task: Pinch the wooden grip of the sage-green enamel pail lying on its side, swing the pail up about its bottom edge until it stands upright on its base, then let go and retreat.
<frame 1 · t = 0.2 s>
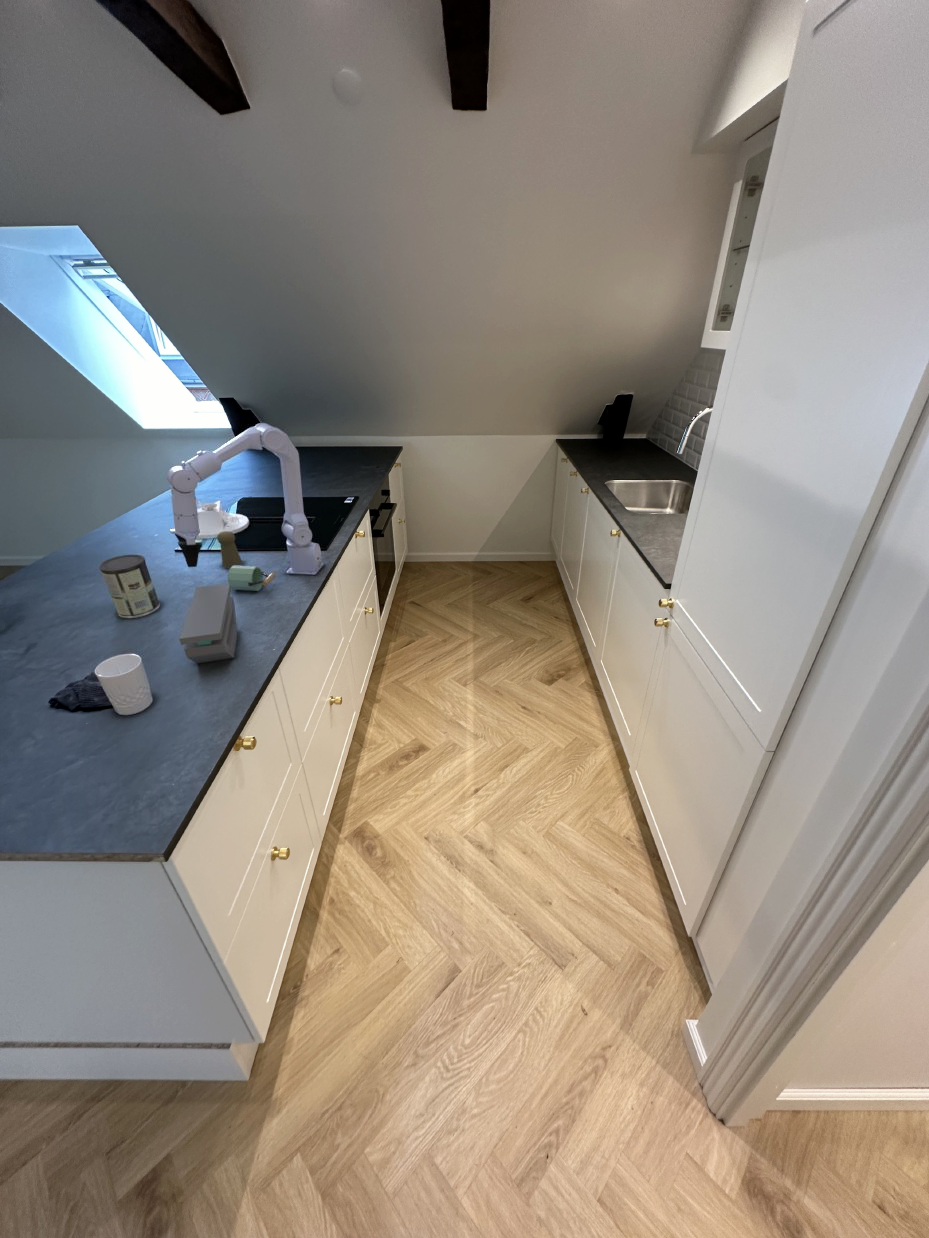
hand: (190, 561, 141), 11 cm above the countertop, tool pointing down, fingers open, 7 cm apart
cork: (232, 565, 165), on the countertop
coffee can: (139, 609, 140), on the countertop
white cup: (134, 705, 105), on the countertop
bucket: (252, 578, 149), point 3 cm above the countertop, hinge at -90.0°
dish: (214, 527, 196), on the countertop
grey box: (218, 648, 123), on the countertop
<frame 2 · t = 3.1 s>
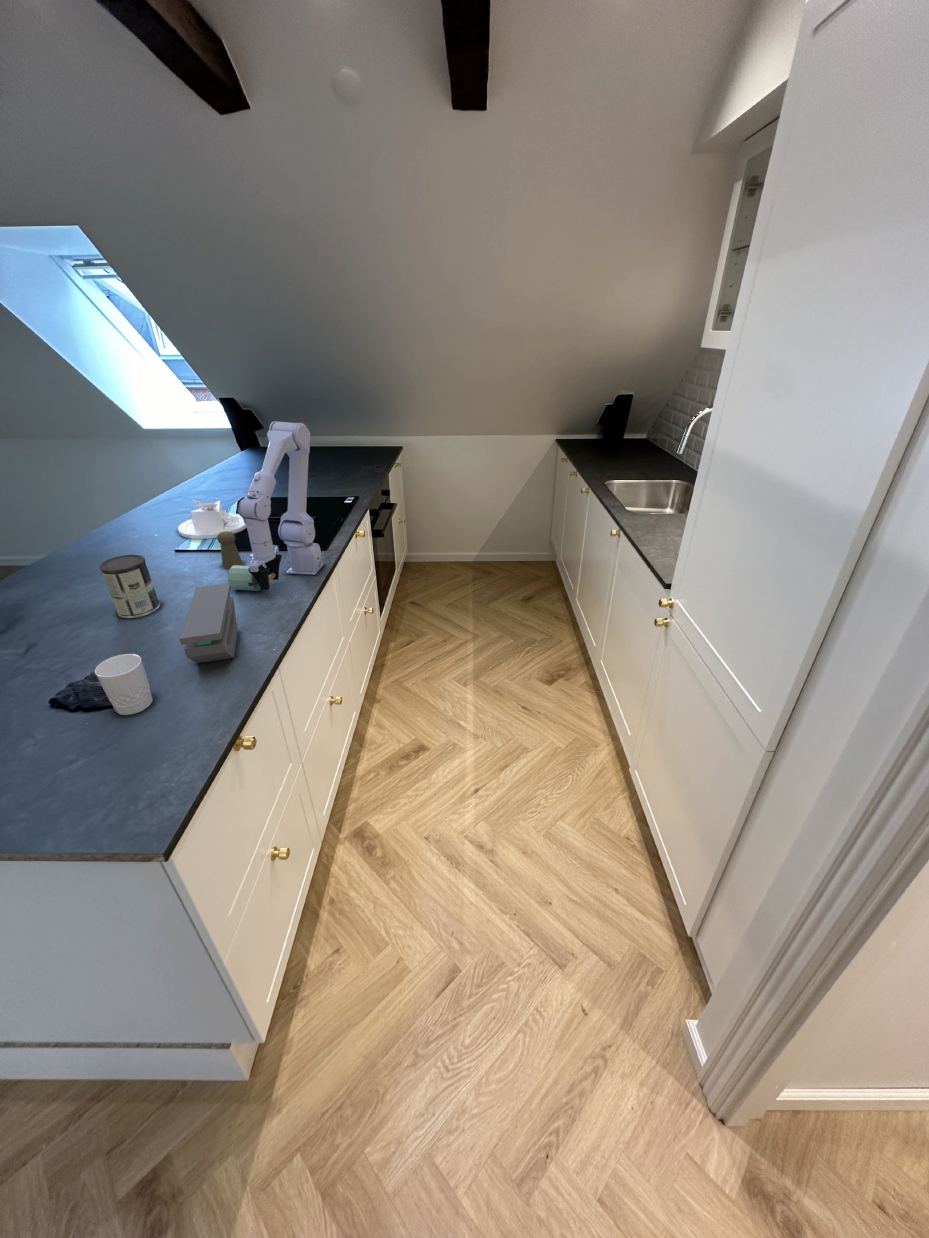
hand: (270, 584, 149), 2 cm above the countertop, tool pointing down, fingers closed on bucket, 6 cm apart
bucket: (252, 578, 149), point 3 cm above the countertop, hinge at -90.0°, touching gripper
everything else where it was.
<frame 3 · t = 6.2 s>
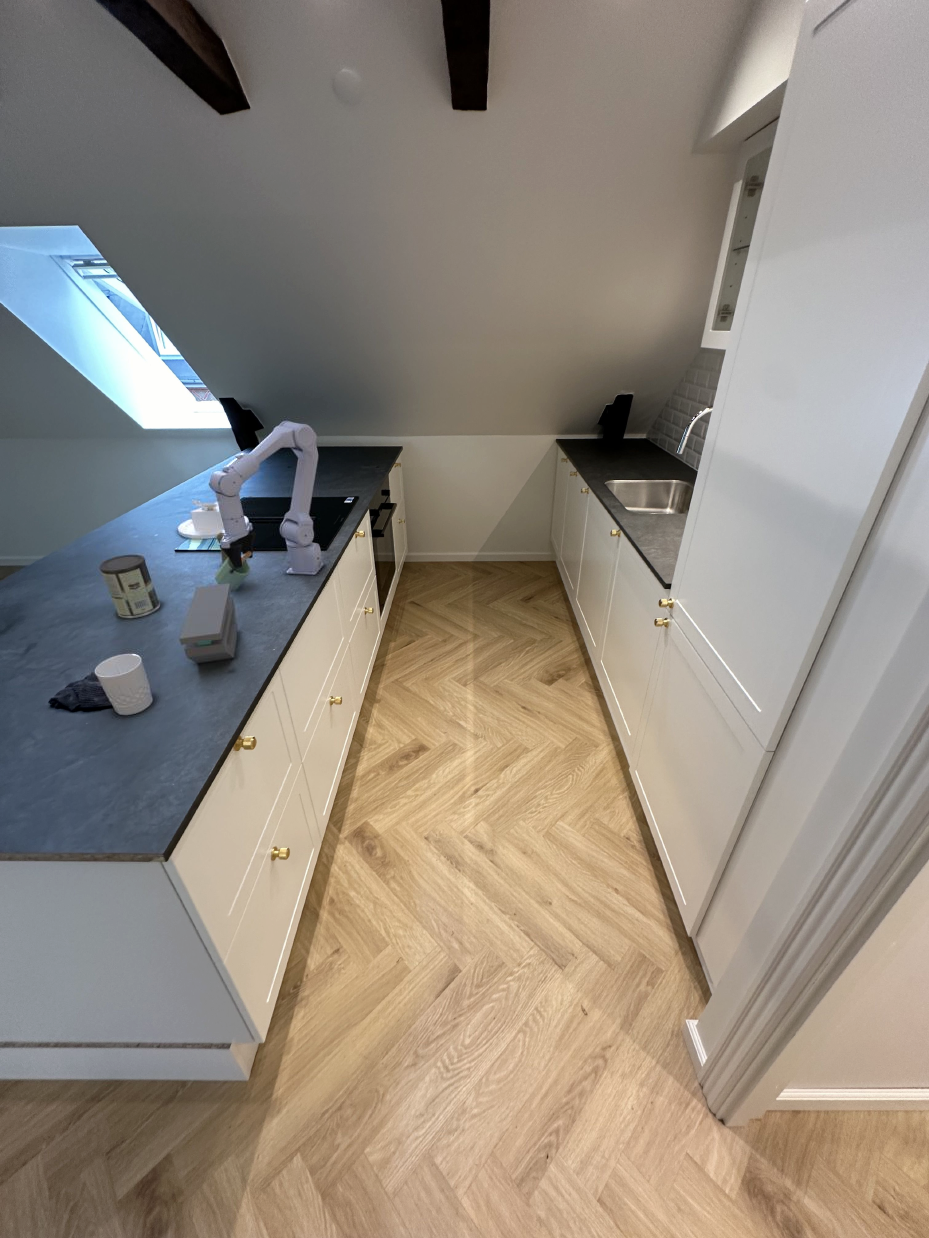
hand: (243, 562, 146), 9 cm above the countertop, tool pointing down, fingers closed on bucket, 6 cm apart
bucket: (236, 568, 147), point 6 cm above the countertop, hinge at -42.9°, touching gripper
everything else where it was.
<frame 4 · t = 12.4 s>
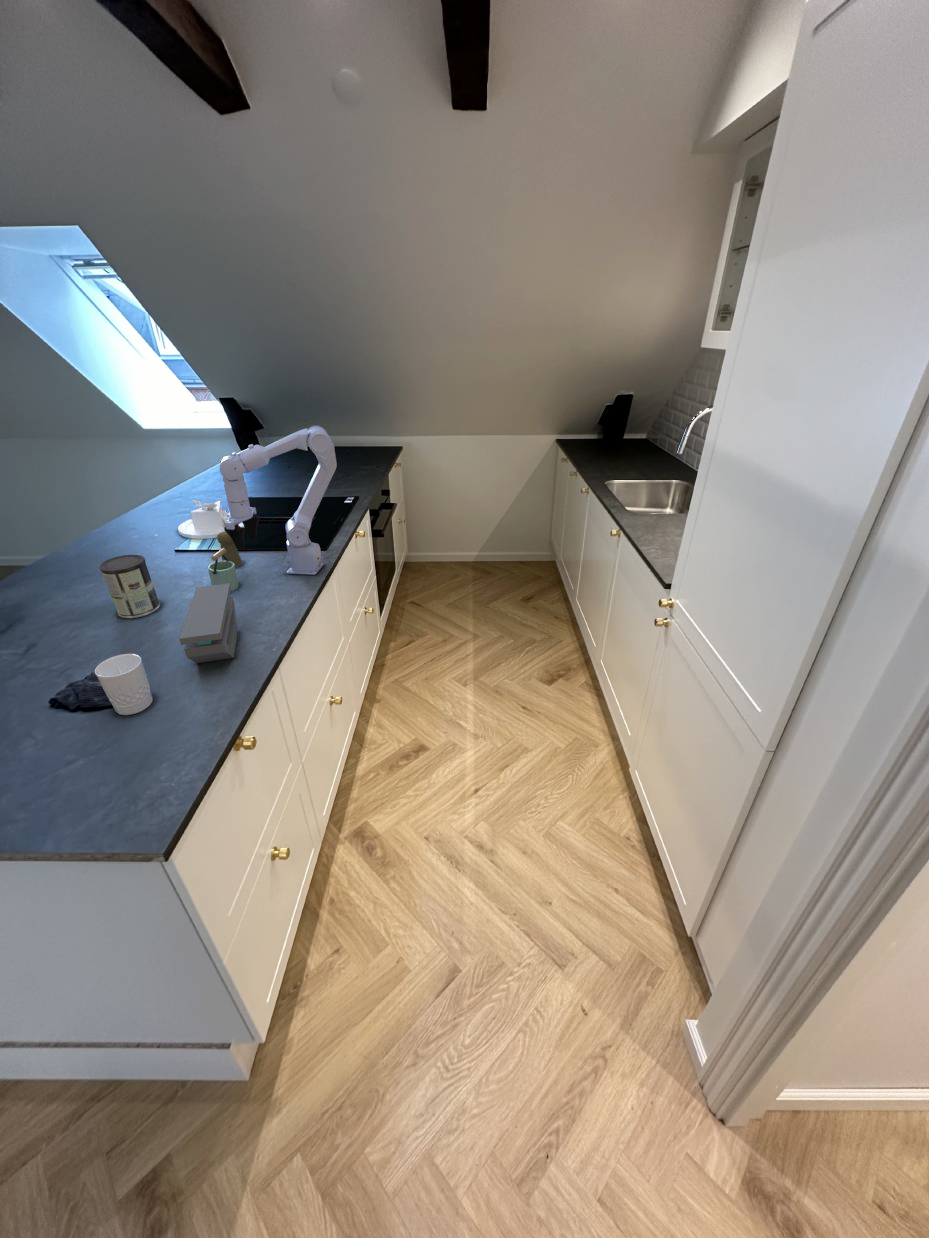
hand: (246, 544, 153), 10 cm above the countertop, tool pointing down, fingers open, 7 cm apart
bucket: (222, 570, 148), point 6 cm above the countertop, hinge at -3.0°
everything else where it was.
at the end: bucket at -3° (first picture: -90°); bucket tilted 3°; the gripper is holding nothing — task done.
